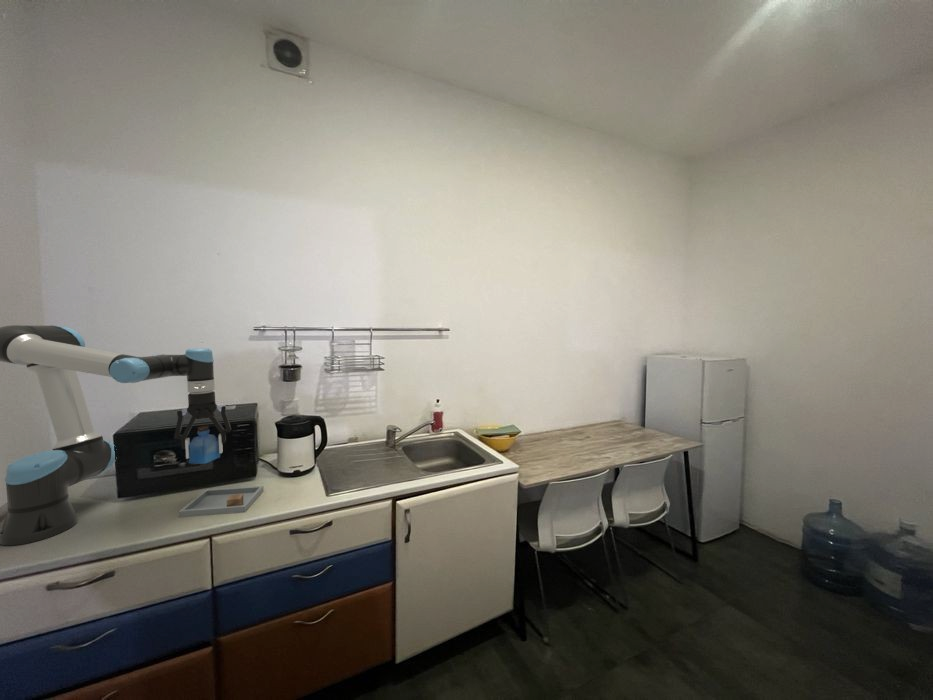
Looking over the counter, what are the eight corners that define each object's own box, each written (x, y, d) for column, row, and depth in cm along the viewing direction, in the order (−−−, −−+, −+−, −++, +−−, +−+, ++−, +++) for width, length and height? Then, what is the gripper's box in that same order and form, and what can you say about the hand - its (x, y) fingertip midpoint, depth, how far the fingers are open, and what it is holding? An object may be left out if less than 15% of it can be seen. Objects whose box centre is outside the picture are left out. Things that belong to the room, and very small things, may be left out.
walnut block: (226, 511, 117) (226, 500, 117) (230, 506, 121) (230, 495, 120) (240, 509, 118) (240, 498, 118) (243, 504, 122) (243, 493, 122)
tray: (178, 518, 113) (178, 511, 113) (205, 496, 129) (205, 489, 129) (244, 513, 117) (244, 506, 117) (263, 492, 133) (263, 485, 133)
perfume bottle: (205, 456, 125) (203, 424, 124) (220, 457, 124) (218, 424, 123) (189, 462, 119) (187, 429, 118) (204, 463, 118) (203, 429, 117)
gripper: (158, 397, 112) (162, 464, 113) (237, 390, 122) (240, 452, 124) (164, 393, 118) (168, 457, 119) (238, 387, 129) (241, 446, 130)
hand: (205, 454), depth 121 cm, fingers closed on perfume bottle, 9 cm apart
